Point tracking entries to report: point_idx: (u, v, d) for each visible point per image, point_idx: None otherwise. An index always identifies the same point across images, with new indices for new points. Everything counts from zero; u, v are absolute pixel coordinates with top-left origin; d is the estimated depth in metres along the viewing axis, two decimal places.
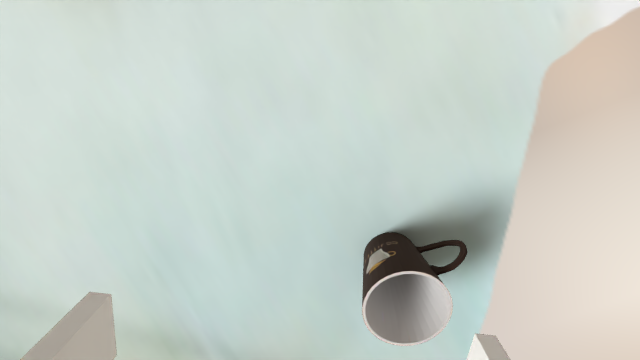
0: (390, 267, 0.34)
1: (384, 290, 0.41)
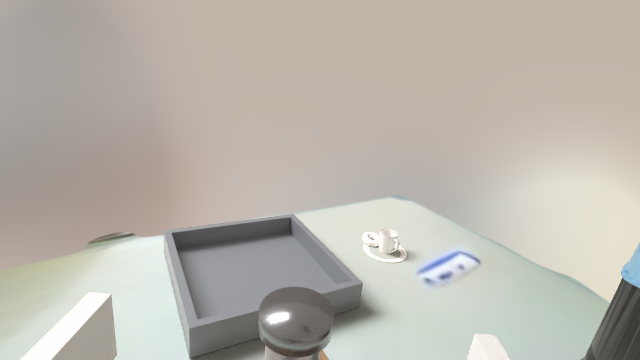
0: None
1: None
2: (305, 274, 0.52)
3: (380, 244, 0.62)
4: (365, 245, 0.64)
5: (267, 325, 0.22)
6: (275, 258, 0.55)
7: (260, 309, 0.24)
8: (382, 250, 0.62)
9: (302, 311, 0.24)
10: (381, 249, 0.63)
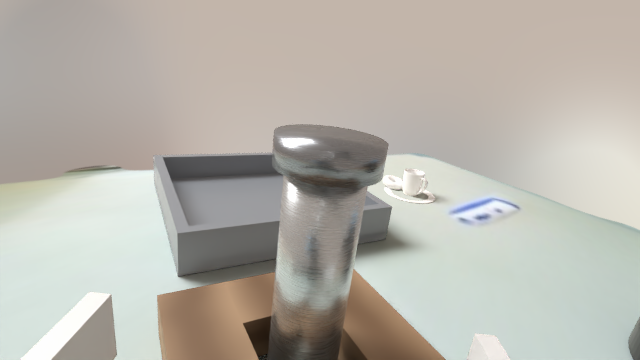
0: None
1: None
2: None
3: (404, 185, 0.54)
4: (386, 188, 0.56)
5: (288, 139, 0.14)
6: None
7: (275, 131, 0.16)
8: (407, 192, 0.54)
9: (339, 137, 0.16)
10: (405, 191, 0.54)
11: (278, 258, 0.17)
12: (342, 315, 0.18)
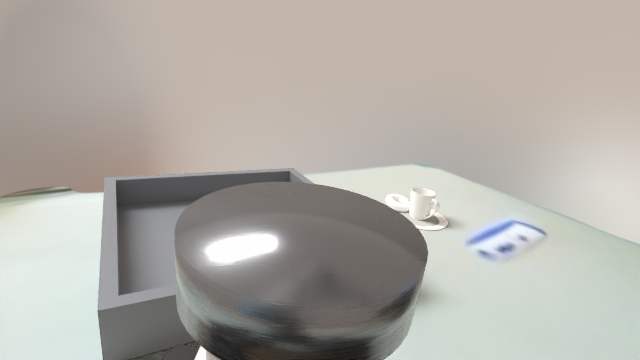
0: None
1: None
2: None
3: (411, 207, 0.46)
4: None
5: (192, 257, 0.06)
6: None
7: (183, 217, 0.07)
8: (414, 215, 0.46)
9: (321, 227, 0.07)
10: (413, 214, 0.46)
11: None
12: None
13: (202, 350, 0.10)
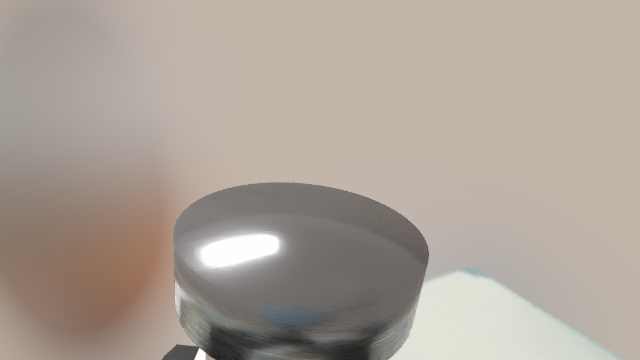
0: None
1: None
2: None
3: None
4: None
5: (191, 259, 0.06)
6: None
7: (182, 218, 0.07)
8: None
9: (321, 228, 0.07)
10: None
11: None
12: None
13: (202, 350, 0.10)
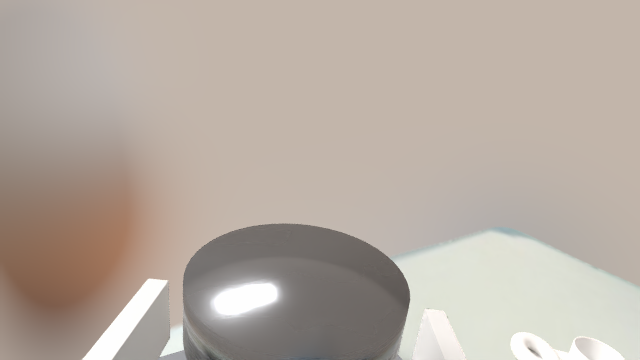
0: None
1: None
2: None
3: None
4: None
5: (200, 309, 0.07)
6: None
7: (190, 266, 0.08)
8: None
9: (315, 274, 0.08)
10: None
11: None
12: None
13: None
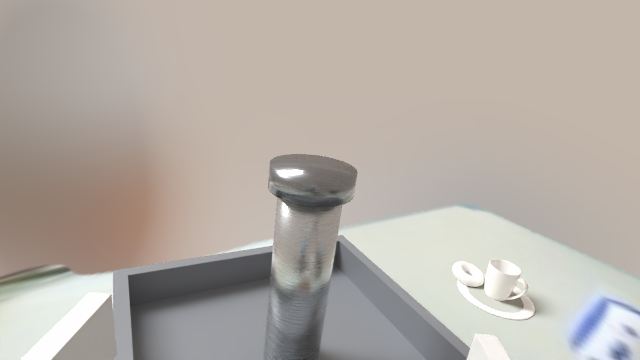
0: None
1: None
2: None
3: (490, 285, 0.38)
4: (461, 284, 0.40)
5: (280, 171, 0.19)
6: None
7: (271, 162, 0.20)
8: (493, 295, 0.38)
9: (320, 167, 0.21)
10: (491, 293, 0.38)
11: (273, 260, 0.22)
12: (324, 304, 0.23)
13: None
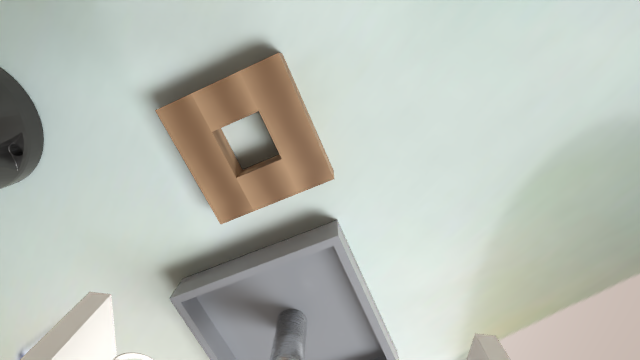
0: None
1: None
2: (237, 321, 0.47)
3: None
4: None
5: None
6: (272, 344, 0.48)
7: None
8: None
9: None
10: None
11: None
12: (273, 349, 0.40)
13: None
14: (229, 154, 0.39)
